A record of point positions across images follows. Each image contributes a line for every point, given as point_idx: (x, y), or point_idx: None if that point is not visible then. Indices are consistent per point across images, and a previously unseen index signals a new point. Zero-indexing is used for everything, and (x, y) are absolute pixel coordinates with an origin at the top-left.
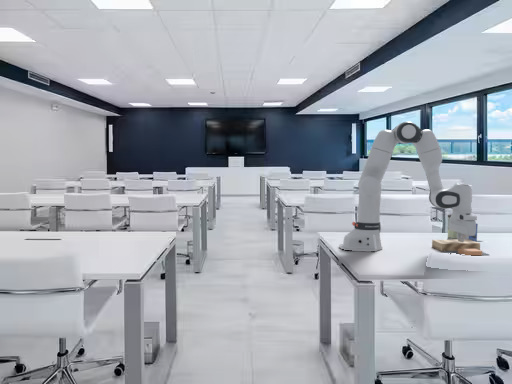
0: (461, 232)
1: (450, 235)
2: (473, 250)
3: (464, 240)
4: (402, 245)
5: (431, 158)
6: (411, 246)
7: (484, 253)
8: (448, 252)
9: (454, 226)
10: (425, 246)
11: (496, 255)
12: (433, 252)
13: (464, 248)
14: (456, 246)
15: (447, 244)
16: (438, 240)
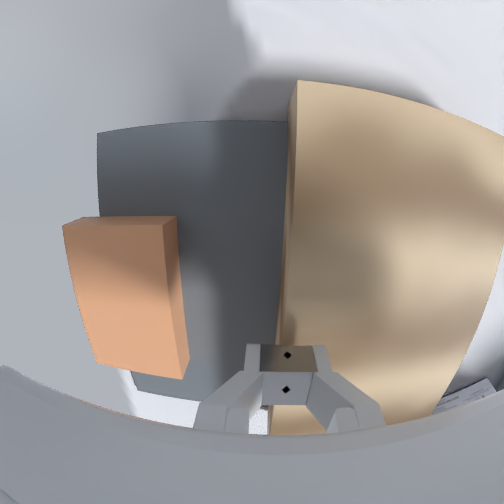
0: (138, 434)
1: None
2: (105, 323)
3: (399, 413)
4: (487, 3)
5: None
6: (474, 20)
7: (164, 387)
8: (198, 130)
9: (467, 485)
10: (486, 109)
11: (140, 409)
12: (244, 15)
13: (276, 340)
14: (283, 276)
15: (293, 162)
16: (486, 180)
